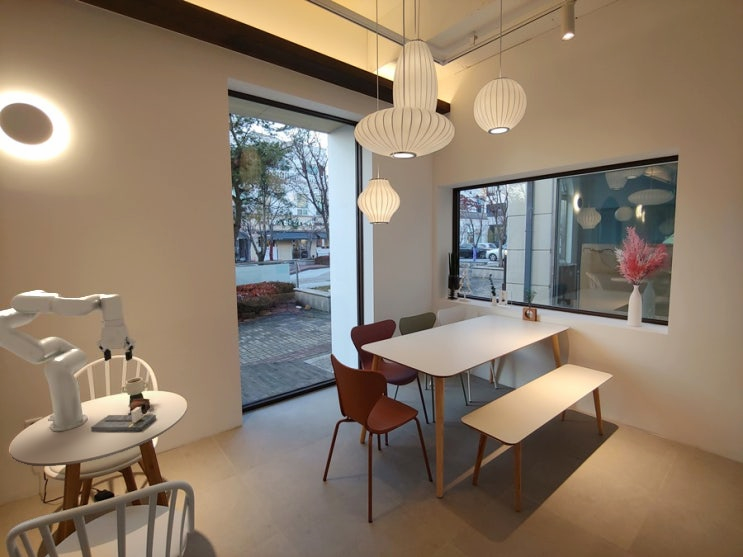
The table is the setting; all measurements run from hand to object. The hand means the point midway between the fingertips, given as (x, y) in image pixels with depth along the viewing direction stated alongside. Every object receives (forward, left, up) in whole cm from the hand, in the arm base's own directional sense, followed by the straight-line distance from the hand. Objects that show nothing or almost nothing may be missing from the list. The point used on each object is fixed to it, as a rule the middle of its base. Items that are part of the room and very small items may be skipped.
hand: (118, 359), depth 158 cm
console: (+3, -5, -28) cm, 29 cm away
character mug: (-4, +13, -28) cm, 32 cm away
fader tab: (+9, -5, -26) cm, 28 cm away
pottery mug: (+4, +5, -29) cm, 29 cm away
